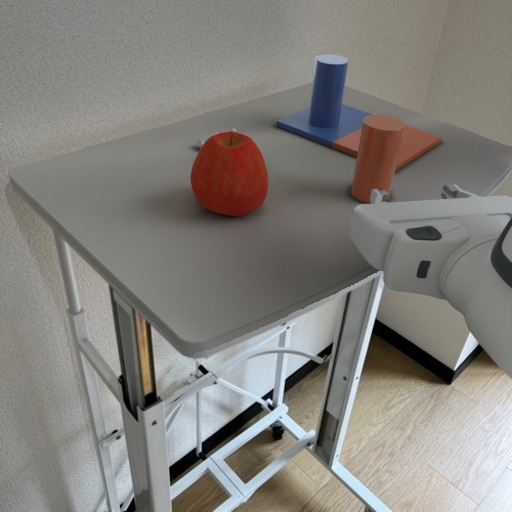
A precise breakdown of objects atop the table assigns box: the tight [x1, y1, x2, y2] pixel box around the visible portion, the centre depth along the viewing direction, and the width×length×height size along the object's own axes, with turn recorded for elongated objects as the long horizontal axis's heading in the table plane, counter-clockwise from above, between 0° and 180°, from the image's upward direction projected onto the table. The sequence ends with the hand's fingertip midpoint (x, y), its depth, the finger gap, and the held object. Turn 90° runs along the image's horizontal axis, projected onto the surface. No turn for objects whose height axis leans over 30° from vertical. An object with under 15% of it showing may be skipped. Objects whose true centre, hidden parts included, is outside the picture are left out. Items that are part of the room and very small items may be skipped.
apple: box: [189, 130, 269, 217], centre depth 72 cm, size 10×10×10 cm
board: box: [276, 103, 442, 172], centre depth 97 cm, size 24×16×1 cm, turn 49°
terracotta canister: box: [350, 113, 406, 204], centre depth 77 cm, size 6×6×11 cm
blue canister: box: [309, 53, 349, 128], centre depth 95 cm, size 6×6×11 cm
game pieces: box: [196, 127, 237, 150], centre depth 90 cm, size 8×2×2 cm, turn 129°
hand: (412, 191), depth 67 cm, fingers open, 8 cm apart
